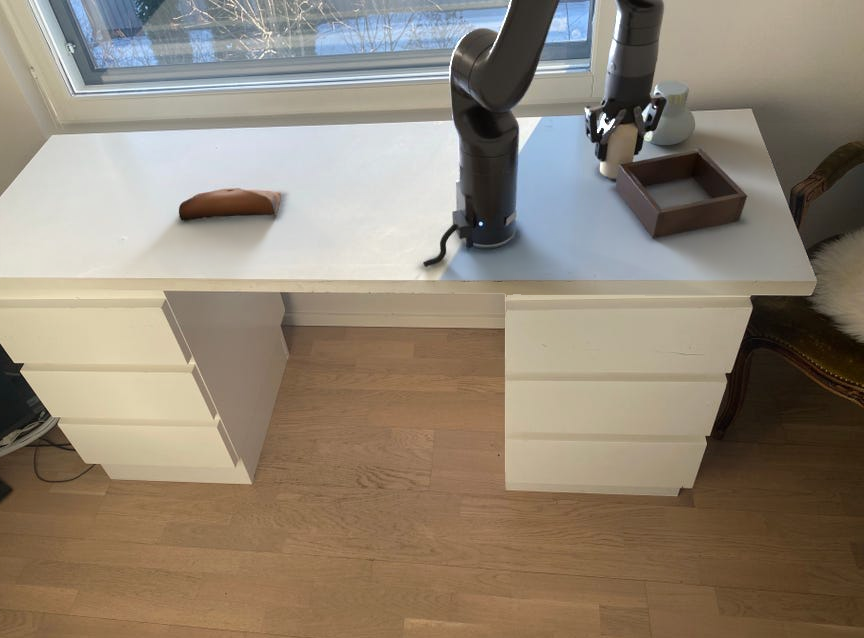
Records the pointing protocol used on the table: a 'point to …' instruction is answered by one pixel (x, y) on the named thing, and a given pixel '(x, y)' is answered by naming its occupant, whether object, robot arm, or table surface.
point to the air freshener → (672, 115)
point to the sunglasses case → (230, 204)
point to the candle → (619, 149)
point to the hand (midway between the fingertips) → (617, 156)
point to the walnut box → (687, 216)
